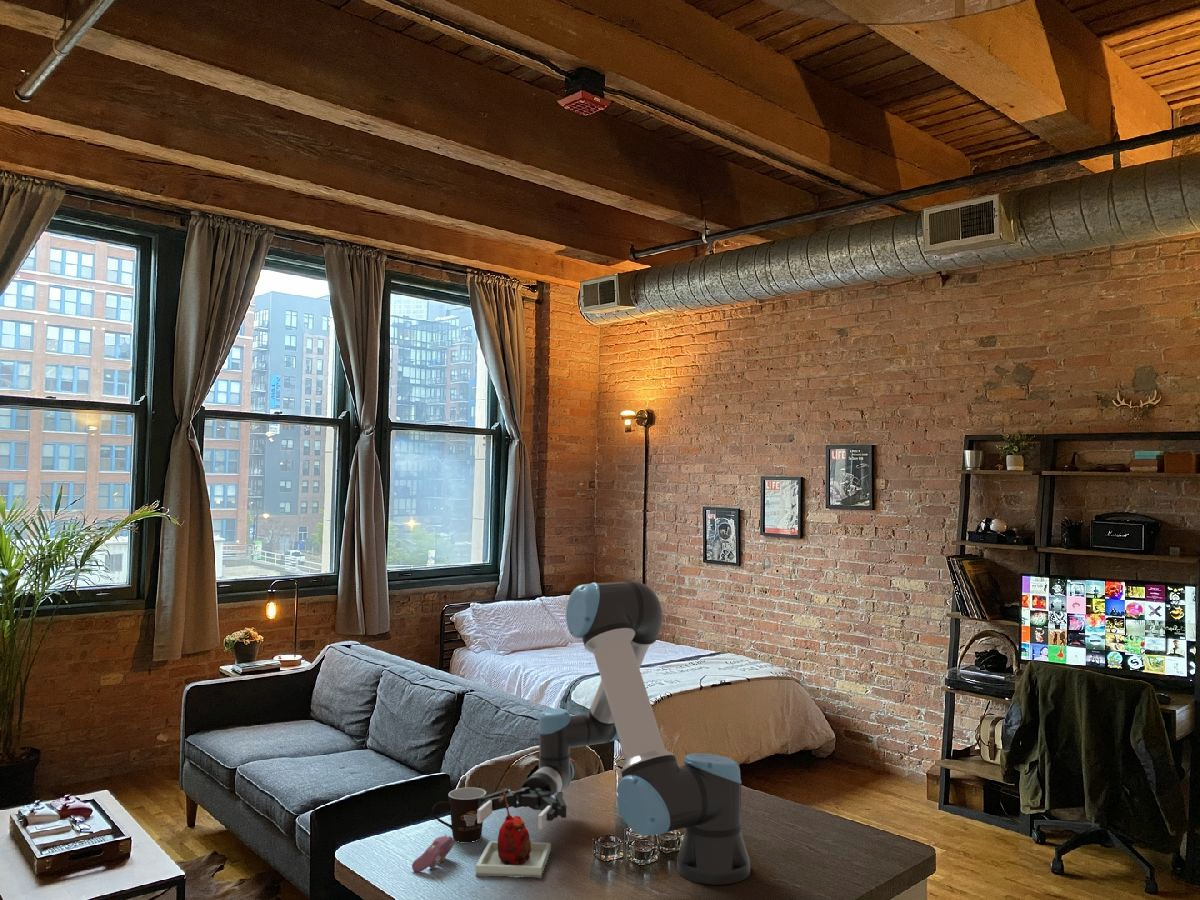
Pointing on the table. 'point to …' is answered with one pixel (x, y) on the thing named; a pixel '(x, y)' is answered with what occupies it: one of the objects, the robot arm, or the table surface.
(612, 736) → the robot arm
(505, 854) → the red bumpy rounded piece
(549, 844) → the sage tray
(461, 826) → the coffee mug
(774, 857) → the table surface
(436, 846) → the pink animal figurine
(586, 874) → the table surface
